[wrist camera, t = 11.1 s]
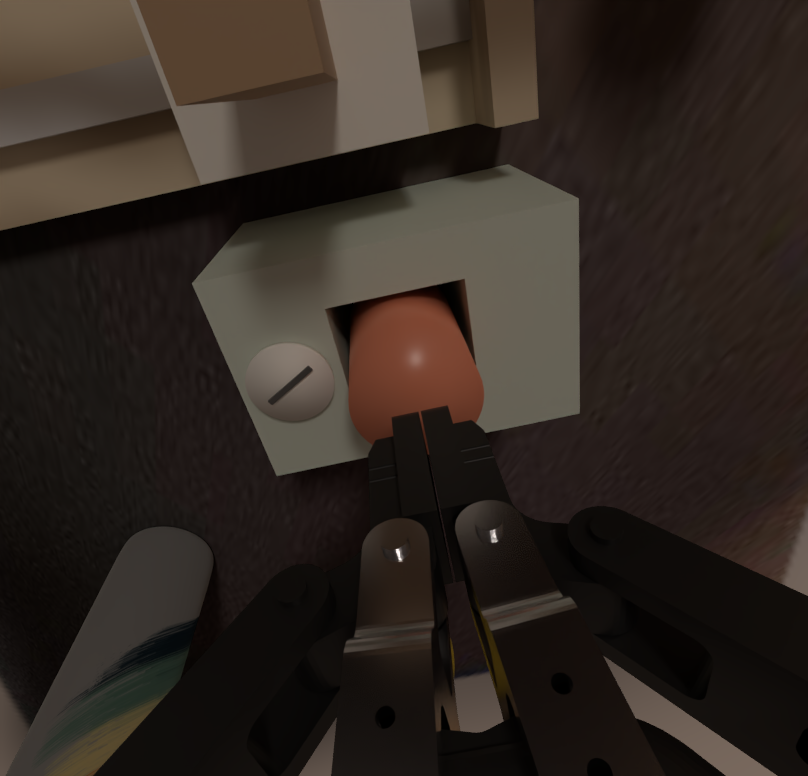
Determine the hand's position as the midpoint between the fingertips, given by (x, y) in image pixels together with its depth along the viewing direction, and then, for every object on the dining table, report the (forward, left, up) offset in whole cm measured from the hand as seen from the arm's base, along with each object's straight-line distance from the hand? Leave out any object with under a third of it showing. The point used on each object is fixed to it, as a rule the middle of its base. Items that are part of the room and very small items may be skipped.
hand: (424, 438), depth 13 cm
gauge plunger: (0, 0, -8) cm, 8 cm away
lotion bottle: (+15, -18, -13) cm, 27 cm away
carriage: (-10, -2, -10) cm, 14 cm away
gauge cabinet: (0, 0, -13) cm, 13 cm away
